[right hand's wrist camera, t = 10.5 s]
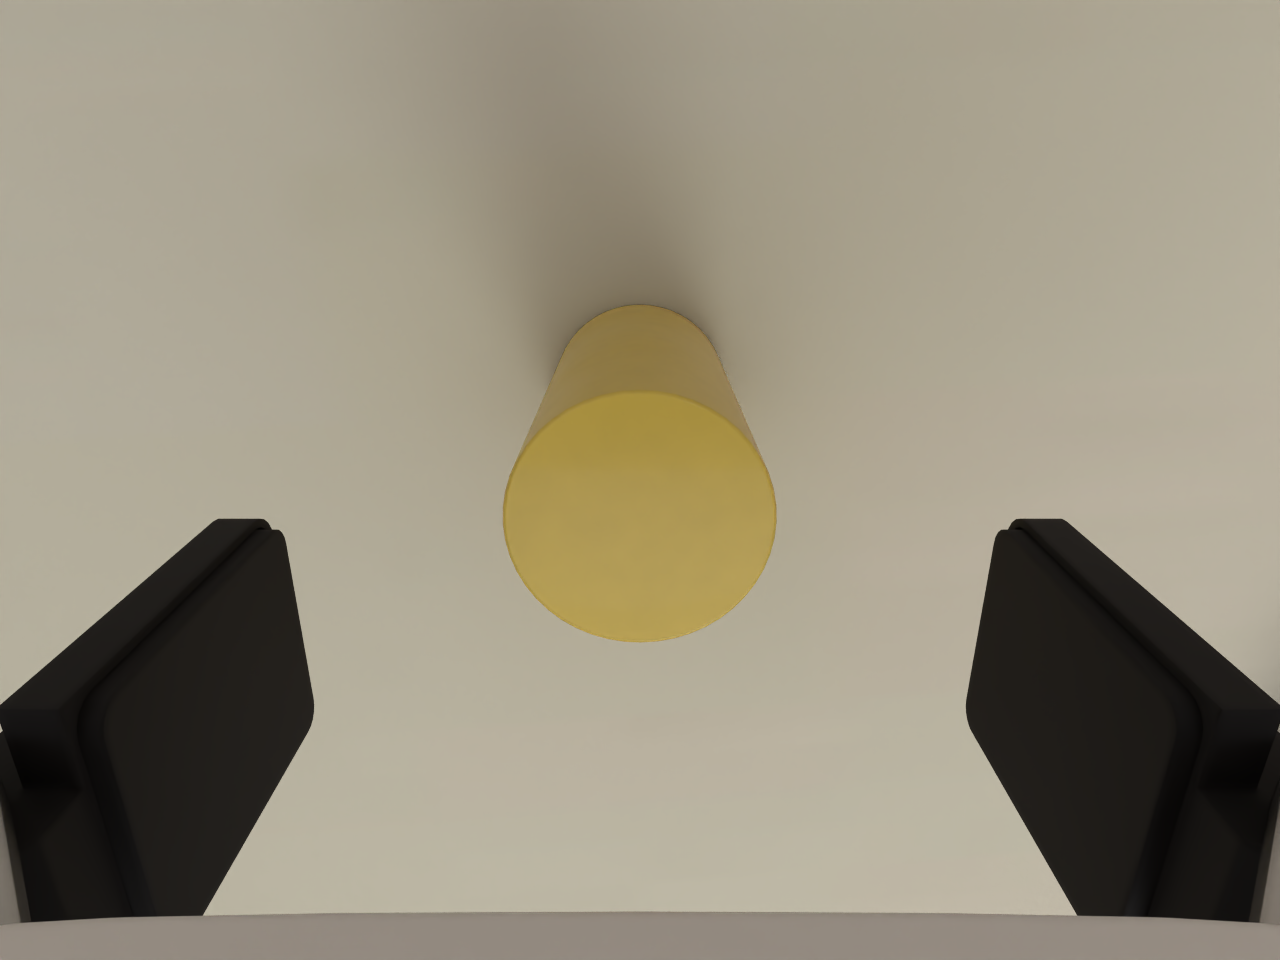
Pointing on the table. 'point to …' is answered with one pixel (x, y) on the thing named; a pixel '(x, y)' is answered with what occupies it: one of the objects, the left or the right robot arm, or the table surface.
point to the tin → (639, 484)
